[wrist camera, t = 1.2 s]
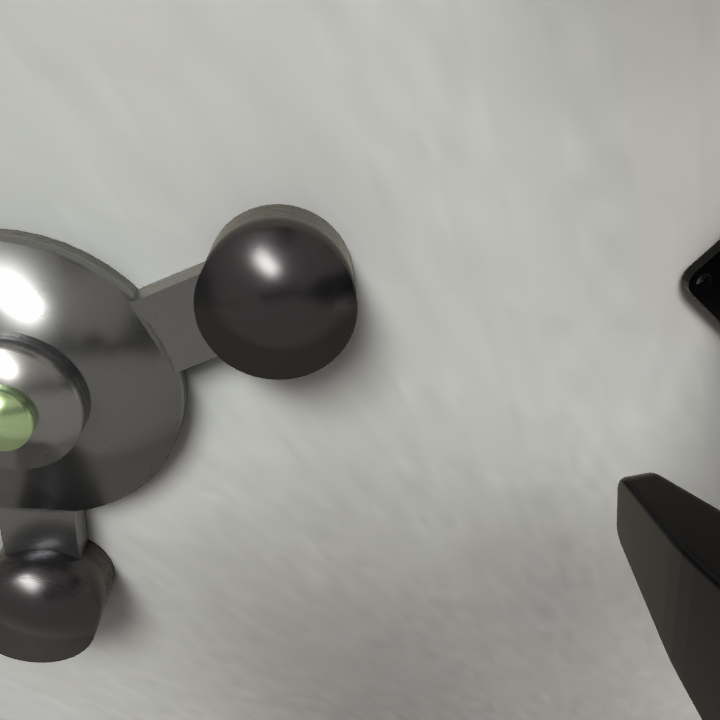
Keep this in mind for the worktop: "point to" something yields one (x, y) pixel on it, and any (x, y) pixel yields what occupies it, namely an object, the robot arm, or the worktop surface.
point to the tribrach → (132, 389)
